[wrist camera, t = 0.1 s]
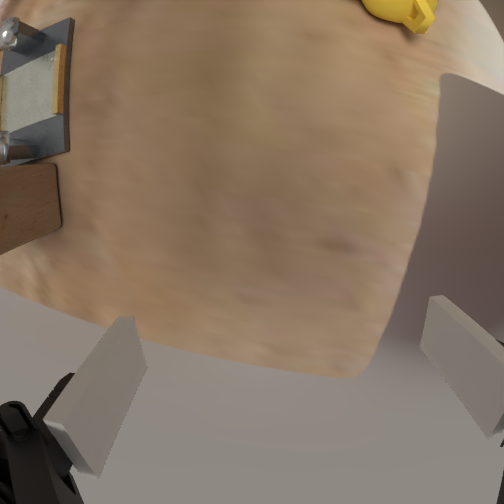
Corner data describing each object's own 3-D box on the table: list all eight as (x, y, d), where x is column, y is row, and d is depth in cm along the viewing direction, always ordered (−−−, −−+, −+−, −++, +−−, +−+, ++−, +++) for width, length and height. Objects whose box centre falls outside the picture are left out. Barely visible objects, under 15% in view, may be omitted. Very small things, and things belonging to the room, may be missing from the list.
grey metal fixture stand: (9, 51, 31) (-26, 40, 21) (74, 19, 30) (42, -3, 21) (4, 171, 37) (-36, 177, 28) (70, 152, 36) (29, 153, 27)
